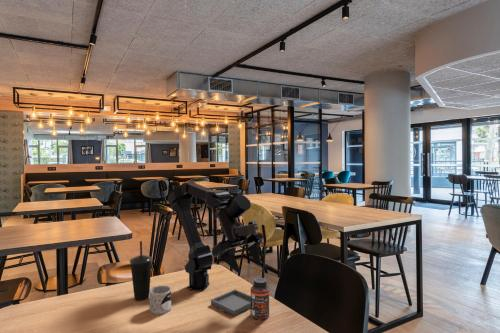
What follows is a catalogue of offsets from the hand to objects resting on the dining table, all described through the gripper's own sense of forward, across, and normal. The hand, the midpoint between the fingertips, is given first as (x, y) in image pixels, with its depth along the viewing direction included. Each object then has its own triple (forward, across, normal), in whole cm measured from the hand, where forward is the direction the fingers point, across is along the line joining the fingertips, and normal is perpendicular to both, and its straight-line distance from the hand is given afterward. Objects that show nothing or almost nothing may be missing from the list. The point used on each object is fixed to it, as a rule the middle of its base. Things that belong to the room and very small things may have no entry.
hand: (249, 268), depth 100 cm
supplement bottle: (+14, +1, +5) cm, 15 cm away
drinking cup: (-8, -19, +36) cm, 42 cm away
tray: (+7, 0, +14) cm, 16 cm away
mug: (-2, -18, +27) cm, 32 cm away
